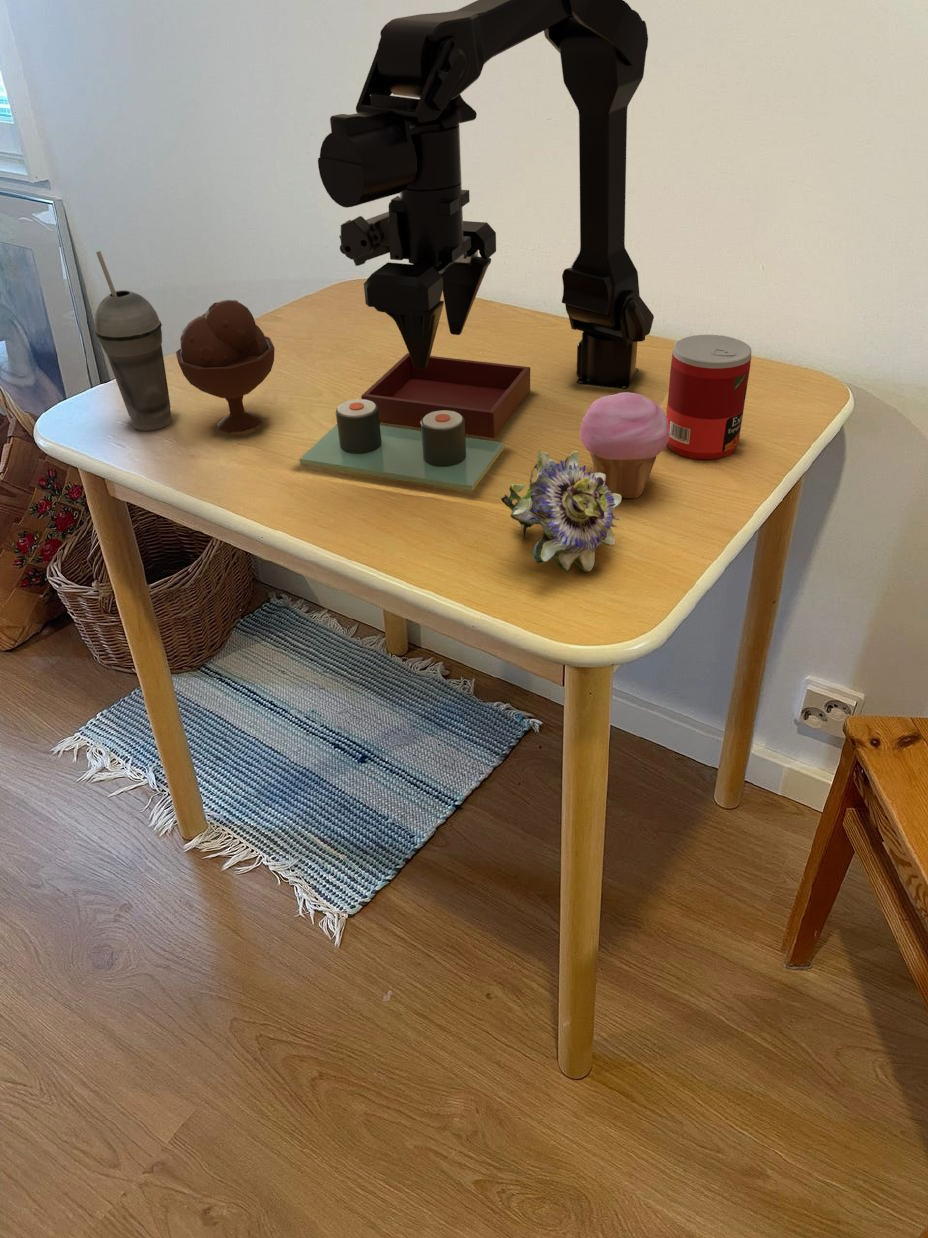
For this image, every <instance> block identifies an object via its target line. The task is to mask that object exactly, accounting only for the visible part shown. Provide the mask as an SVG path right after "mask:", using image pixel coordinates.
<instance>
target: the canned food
mask: <svg viewBox="0 0 928 1238" xmlns="http://www.w3.org/2000/svg"><path fill="white" fill-rule="evenodd" d="M751 362H752V347H751V346H750V345H749V344H748V343H746V342H744V341H743V340H740V339H738V338H735V337H732V336H727V335H719V334H697V335H689V336H686V337H683V338H681V339H679V340H677V341H676V342H675V343H674V344H673V349H672V353H671V360H670V370H669V371H670V372H669V382H668V392H667V393H668V394H667V403H666V404H667V405H666V414H665V415H666V417H667V419H668V426H669V433H670V436H669V440H668V443H667V445H666V447H668V448H669V449H670V450H671V451H672V452H674V453H676V454H678V455H679V456H682V457H686V458H689V459H695V460H714V459H720V458H724V457H726V456H729V455H730V454H732V453H734V451H735V450H736V448H737V446H738V444H739V441H740V437H741V436H740V435H741V428H742V423H743V417H744V410H745V403H746V398H747V397H746V396H747V389H748V385H749V384H748V383H749V378H750V370H751Z"/></svg>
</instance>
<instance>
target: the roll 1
mask: <svg viewBox="0 0 928 1238" xmlns="http://www.w3.org/2000/svg"><path fill="white" fill-rule="evenodd" d="M335 418H336V424H337V427H338V435H339V443H340V448H341V449H342V450H343V451H345V452H348V453H353V454H363V453H368V452H372V451H374V450H376V449H378V448H379V447H380V446H381V443H382V441H381V431H380V425H381V424H380V423H381V422H380V421H379V411H378V406H377V405H376V404H375V403H374V402H372V401H369V400H365V399H362V398H358V399H357V398H356V399H349V400H346V401H343V402H341V403H340V404H338V406H337V407H336V408H335Z"/></svg>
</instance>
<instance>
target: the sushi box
mask: <svg viewBox="0 0 928 1238" xmlns="http://www.w3.org/2000/svg"><path fill="white" fill-rule="evenodd" d="M530 392H531V367H530V366H525V365H524V366H523V365H516V364H515V365H514V364H506V363H497V362H488V361H481V360H479V361H478V360H471V359H462V358H452V357H443V356H435V355H430V358H429V361H428V365H427V367H426V368H425V369H417V368H415V366H414V364H413V361H412V359H411V357H410V354H409V352H407V353H405V354H404V355H403V356H402V357H401V358H400V359H399V360H398V361H397V362H396V363H395V364H393V366H392V367H390V368H389V369H388V370H387V371H386V372H385V373H384V374H383V375H382V376H381V377H380V378H378V380H377V381H375V383H373V384H372V385H371V386H370V387H369V388H367V390H366V391H364V393H362V394H361V397H360V399H365V400H369V401H372V402H374V403H375V404H376V405H377V406H378V411H379V421H380V423H382V424H391V425H397V426H403V427H404V426H405V427H412V428H420V429H421V420H422V419H423V418H424V417H425V416H426V415H427V414H429V413H431V412H435V411H441V410H448V411H454V412H457V413H459V414H460V415H461V416H463V417H464V420H465V435H470V436H477V437H483V438H491V439H495V437H496V436H497V435H498V434H499V432H500V431H501V430H502V428H503V427H504V426H505V425H506V423H507V422H508V421H509V419H510V418H511V417H512V415H513V414H514V413H515V411H516V410H517V409H518V407H519V406H520V405H521V404H522V402H523V401H524V400H525V399H526V397H527V396H528V394H530Z"/></svg>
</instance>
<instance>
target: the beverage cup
mask: <svg viewBox="0 0 928 1238" xmlns="http://www.w3.org/2000/svg"><path fill="white" fill-rule="evenodd" d="M95 252H96V256H97V259H98V261H99V265H100V266H101V269H102V272H103V274H104V278H105V280H106V283H107V285H108V288H109V291H110V293H109V294H107V295H106V296H104V297H103V299H101V301H100V302H99V304H98V306H97V308H96V311H95V315H94V328H95V330H94V331H95V332H94V333H95V336H96V338H97V339H98V341H99V343H100V345H101V347H102V349H103V351H104V354H106V357H107V359H108V362H109V365H110V368H111V370H112V373H113V376H114V378H115V381H116V384H117V386H118V389H119V392H120V395H121V397H122V400H123V403H124V405H125V408H126V411H127V414H128V416H129V418H130V421H131V422H132V425H133V428H134V429H136V430H138V431H142V432H149V431H156V430H160V429H163V428H165V427H167V426H168V425H170V424H171V423H172V419H173V418H172V415H171V414H172V412H171V411H172V410H171V402H170V401H171V400H170V394H169V393H170V392H169V387H168V379H167V372H166V366H165V359H164V352H163V345H162V343H163V331H162V322H161V320H160V317H159V315H158V313H157V311H156V310H155V308H154V306H153V305H152V304H151V302H150V301H149V300H147V298H145V296H143V295H141V294H139V293H136V292H134V291H131V290H116V289H115V286H114V283H113V281H112V278H111V276H110V273H109V270H108V267H107V265H106V262H105V260H104V257H103V255H102V251H101V250H98V251H95Z"/></svg>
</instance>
